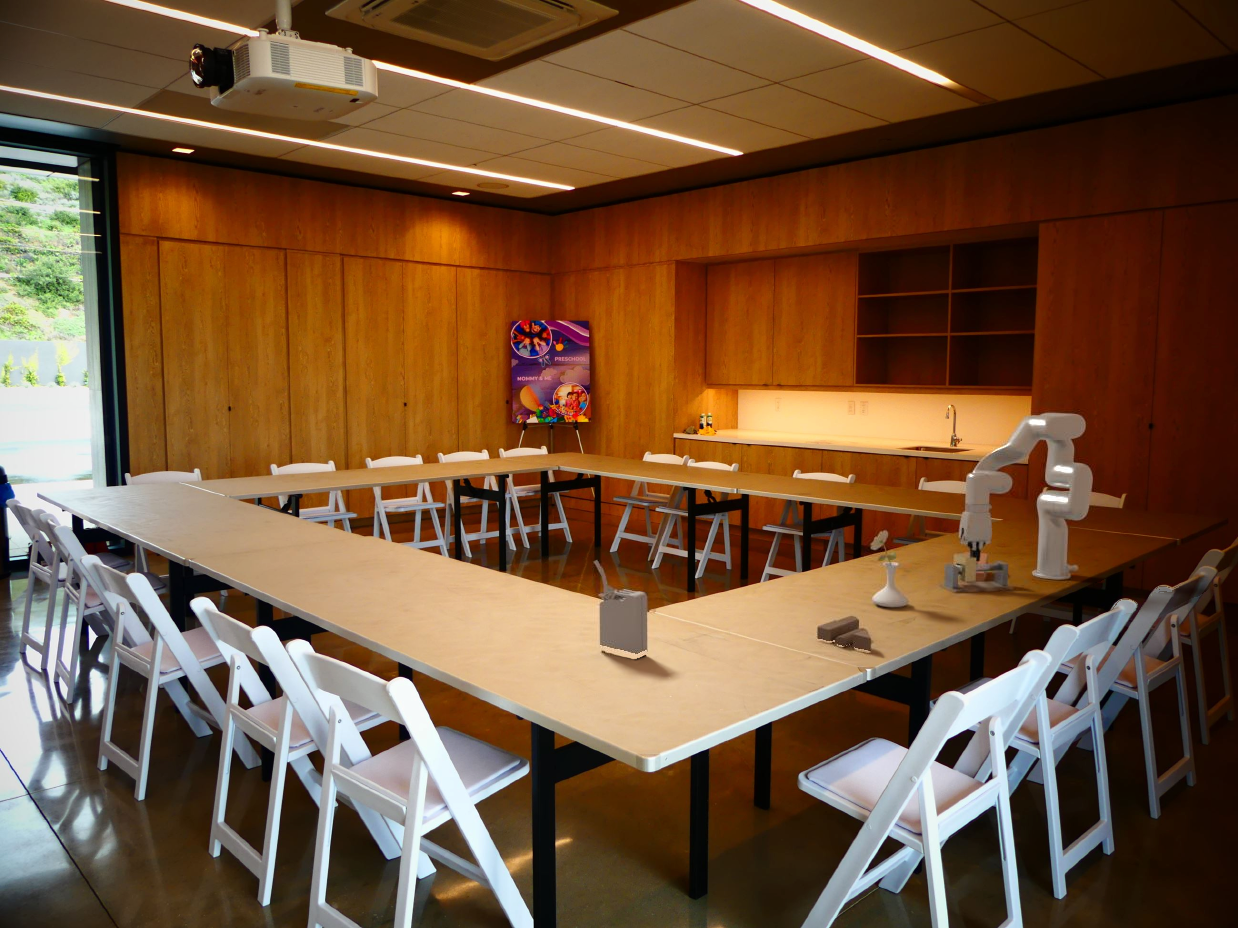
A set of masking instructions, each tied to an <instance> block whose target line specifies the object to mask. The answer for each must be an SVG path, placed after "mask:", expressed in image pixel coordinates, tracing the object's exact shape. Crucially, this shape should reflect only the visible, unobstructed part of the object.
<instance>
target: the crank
mask: <svg viewBox="0 0 1238 928" xmlns="http://www.w3.org/2000/svg"><path fill="white" fill-rule="evenodd" d="M963 554H967V555H970V551H964V552H963ZM988 558H989V555H988V553H982V552H980V561H976V565H979V564H989V562H988V560H989V559H988ZM987 574H988V571H984V572H976V580H975V581H970V582H983V581H985V580H986V578H987Z"/></svg>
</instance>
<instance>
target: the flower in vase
mask: <svg viewBox="0 0 1238 928" xmlns="http://www.w3.org/2000/svg"><path fill="white" fill-rule="evenodd" d="M888 537H889V531H887V530H886V529H884V530H883V531H882V530H881V531H879V533H878V535H877V536H875V537H874V539H873V541H872V542H871V543H870V550H873V551H877V550H878V549H879V548H880V547H882V546H883V548H884V551H885V554H882V555H880V556H879V558H878V559H877V562H883V561H885V560H886V559H887V560H888V561H886V562H883V563H882V564H883V566H884V567H885V570H886V577H887V578H886V579H887V581H886V585H885V587H883V588H882V589H881V590H878V591H877V592H876V593H875V594H874V595H873V596H872V599H871V601H872V602H873V603H874V604H875V605H878V606H881V607H885V608H886V607H887V608H902V607H904V606H908V604H909V603H910V601H909V598H908V597H907V596H906V595H905V594H904V593H903V592H901V590H899V588H897V587H896V584H895V577H896V576H895V575H896V571H897V569H898V567H899V566H900V564H899V562H895V561H894V562H893V560H895V559H896V558H897V552H896V551H893V552H892V553H890V554H888V550H887V549H886V546H885V542H886V541H887V539H888ZM891 561H892V562H891Z"/></svg>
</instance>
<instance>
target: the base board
mask: <svg viewBox="0 0 1238 928" xmlns="http://www.w3.org/2000/svg"><path fill="white" fill-rule="evenodd" d="M938 586H939V587H940V588H942V589H945V590H946V591H949V592H952V593H954V594H962V593H963V594H964V593H981V591H983V592H997V591H998V590H1000V591H1012V590H1014V587H1013V586H1012V585H1011V586H1010V585H1008V586H1001V585H998V584H996V583H994V580H986V581H985V580H984V581H983V582H958V589H951V588H949V587H947V586H945V583H939V585H938ZM998 592H999V591H998Z"/></svg>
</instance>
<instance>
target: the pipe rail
mask: <svg viewBox="0 0 1238 928" xmlns="http://www.w3.org/2000/svg"><path fill="white" fill-rule="evenodd" d="M984 571H987V572H993V581H994V583H996V584H998V585H1001V586H1009V585H1008V583H1009V563H1006V562H1004V561H1000V560H997V561H994V563H988V564H979V565H976V572H984ZM958 573H962V565H960V566H955V565H954V563H953V564H952V563H945V566H944V584H945V586H947V587H949V588H951V589H958V583H959V579H958Z"/></svg>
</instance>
